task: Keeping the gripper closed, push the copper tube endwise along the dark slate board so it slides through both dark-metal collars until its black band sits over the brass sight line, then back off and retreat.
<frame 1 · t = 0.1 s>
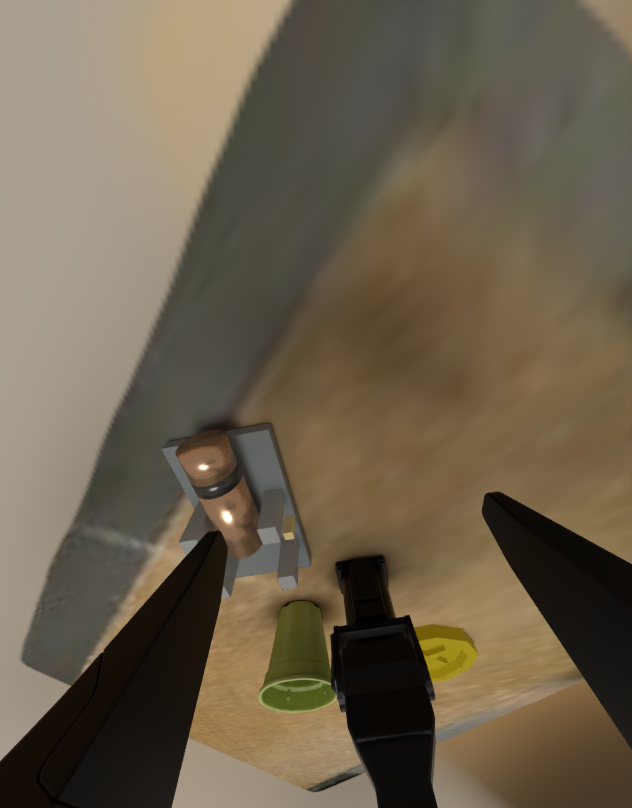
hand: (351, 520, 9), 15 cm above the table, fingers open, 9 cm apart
decorative disc: (420, 646, 45), on the table
plant pot: (300, 609, 37), on the table
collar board: (249, 507, 28), on the table
copper tube: (232, 481, 25), point 1 cm above the table, touching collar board
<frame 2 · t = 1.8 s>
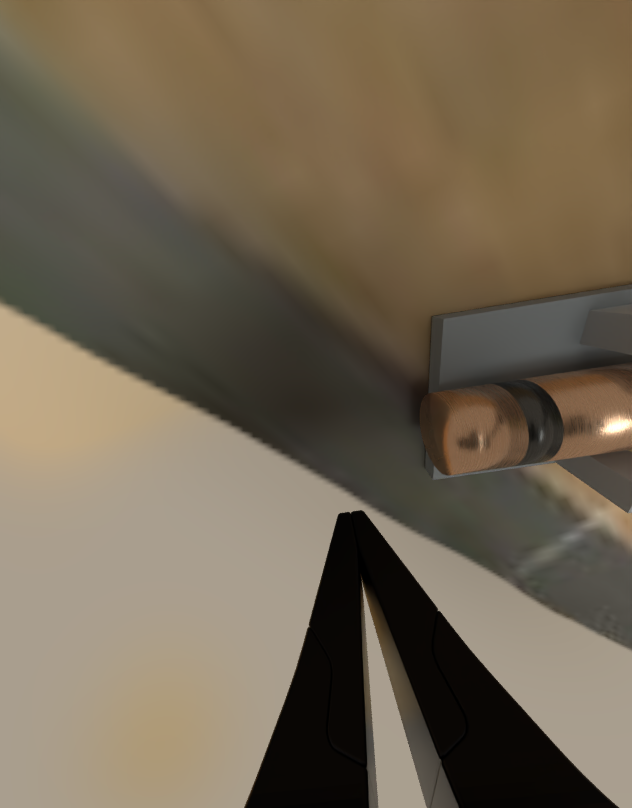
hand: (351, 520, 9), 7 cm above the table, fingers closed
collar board: (597, 377, 15), on the table
copper tube: (528, 398, 14), point 1 cm above the table, touching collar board
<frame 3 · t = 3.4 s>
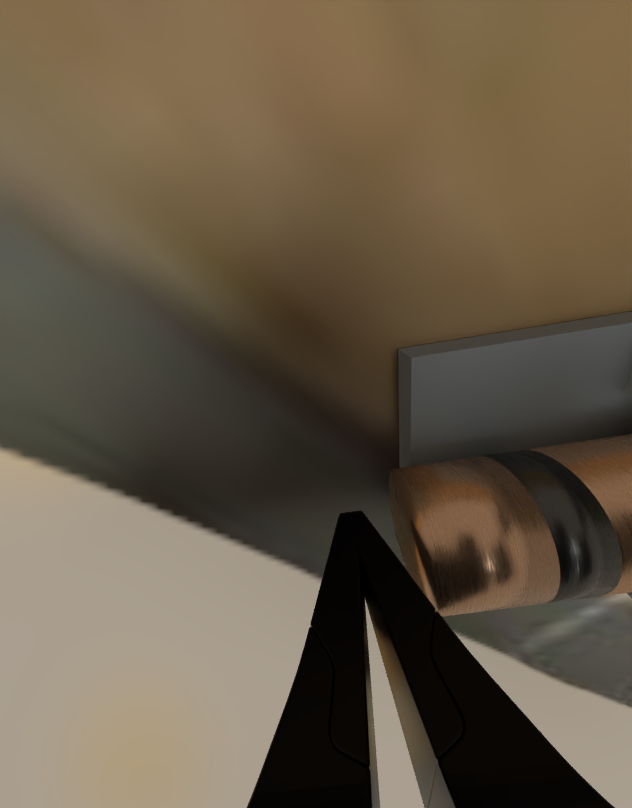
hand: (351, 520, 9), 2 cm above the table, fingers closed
copper tube: (547, 464, 9), point 1 cm above the table, touching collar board, gripper
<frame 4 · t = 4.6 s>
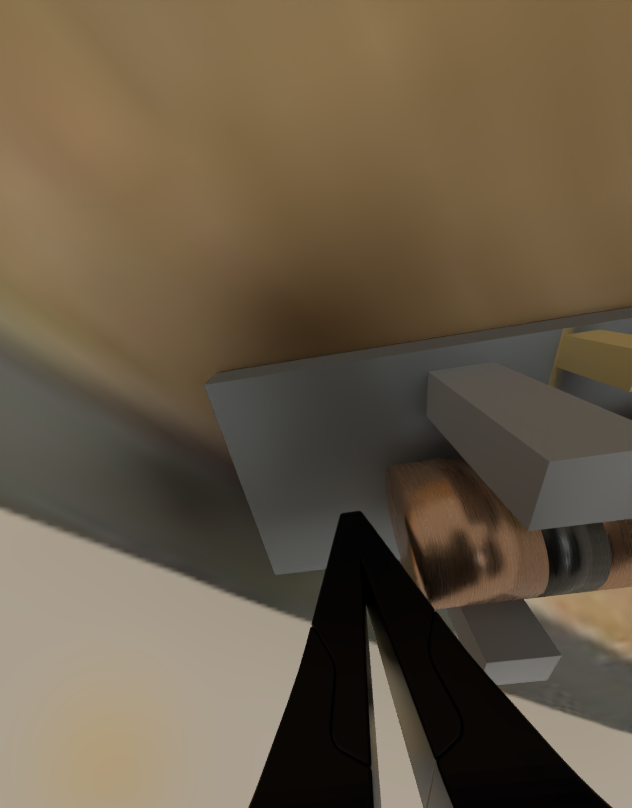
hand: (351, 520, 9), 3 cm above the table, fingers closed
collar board: (483, 447, 11), on the table
copper tube: (543, 461, 10), point 1 cm above the table, touching gripper
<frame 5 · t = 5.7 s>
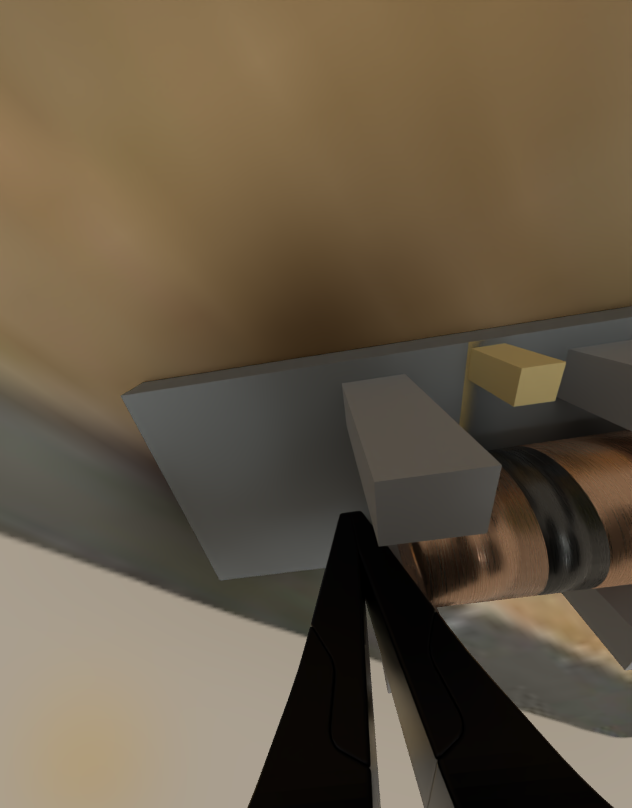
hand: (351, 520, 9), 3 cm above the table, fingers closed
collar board: (418, 455, 11), on the table
copper tube: (543, 460, 10), point 1 cm above the table, touching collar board, gripper
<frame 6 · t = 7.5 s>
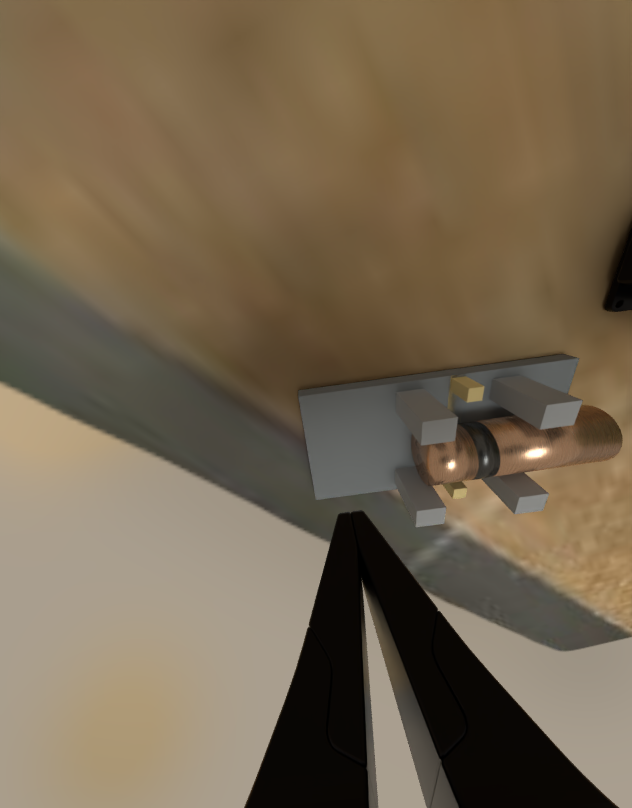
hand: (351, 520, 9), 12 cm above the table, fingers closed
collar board: (426, 429, 21), on the table
copper tube: (486, 430, 20), point 1 cm above the table, touching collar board
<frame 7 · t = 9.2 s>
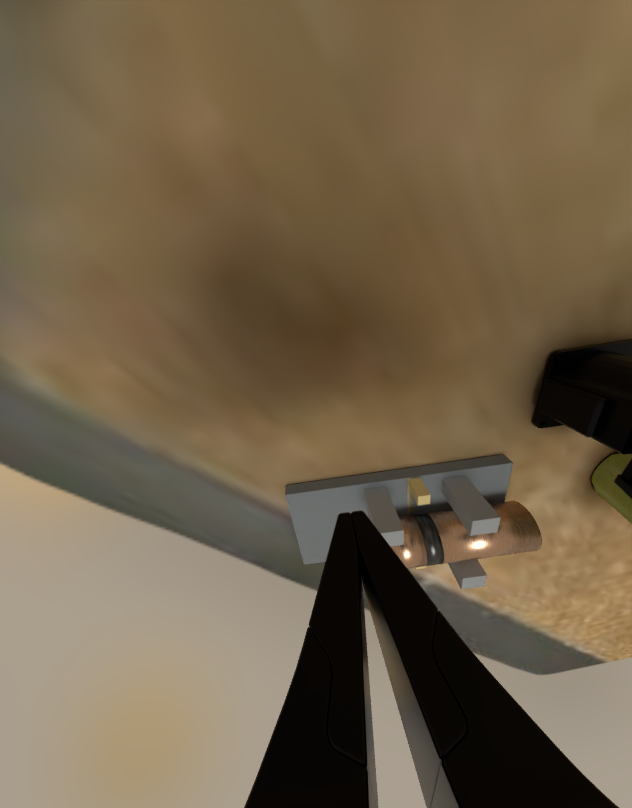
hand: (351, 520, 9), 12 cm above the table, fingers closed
plant pot: (620, 468, 24), on the table
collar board: (394, 508, 25), on the table
copper tube: (442, 513, 24), point 1 cm above the table, tilted 11°, touching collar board
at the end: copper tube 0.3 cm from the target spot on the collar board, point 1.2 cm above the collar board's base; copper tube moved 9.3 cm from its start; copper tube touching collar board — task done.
